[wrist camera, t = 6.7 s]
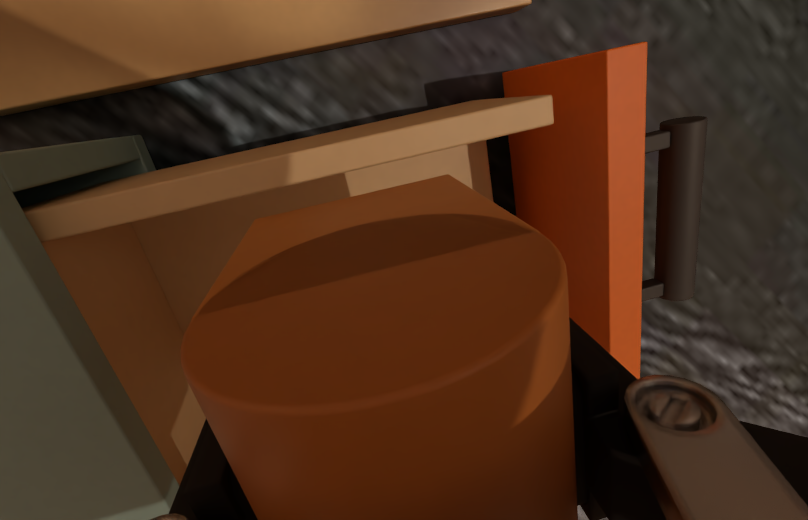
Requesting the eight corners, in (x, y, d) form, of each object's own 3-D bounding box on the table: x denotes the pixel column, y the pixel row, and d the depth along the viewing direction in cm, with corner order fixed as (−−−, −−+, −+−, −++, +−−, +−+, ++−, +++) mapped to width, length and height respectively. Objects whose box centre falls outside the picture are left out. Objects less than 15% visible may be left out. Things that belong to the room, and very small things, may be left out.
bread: (254, 219, 10) (81, 482, 3) (449, 173, 10) (682, 316, 4) (333, 441, 13) (336, 832, 6) (483, 399, 13) (646, 719, 6)
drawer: (620, 47, 18) (788, 10, 11) (619, 302, 22) (738, 379, 16) (95, 160, 15) (-68, 195, 9) (216, 414, 20) (165, 555, 14)
